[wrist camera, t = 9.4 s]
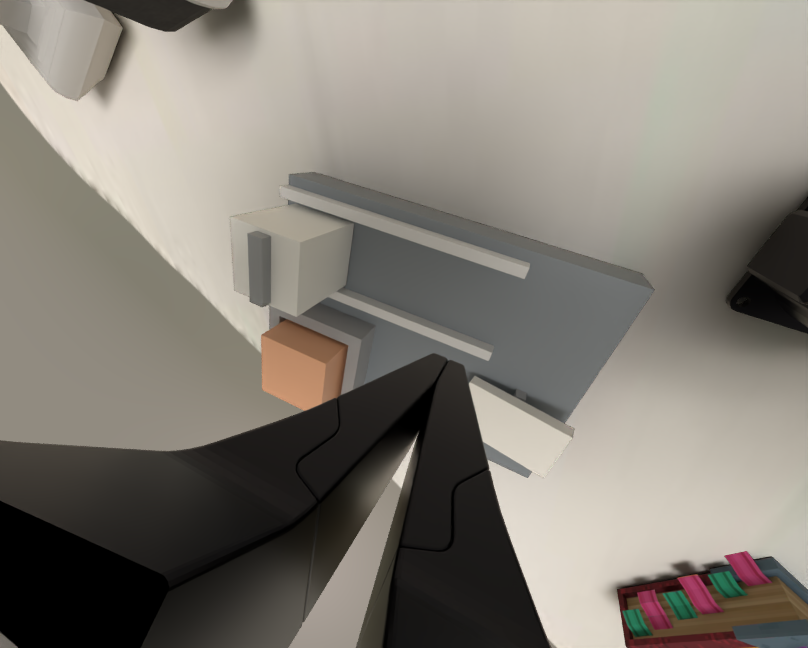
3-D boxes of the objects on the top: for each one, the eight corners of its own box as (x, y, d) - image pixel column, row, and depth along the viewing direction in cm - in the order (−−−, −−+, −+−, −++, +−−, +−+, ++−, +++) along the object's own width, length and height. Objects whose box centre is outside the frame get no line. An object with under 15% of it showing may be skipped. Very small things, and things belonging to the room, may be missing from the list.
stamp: (111, 117, 26) (-51, 103, 19) (48, 34, 25) (-150, -13, 18) (152, 14, 21) (-45, -54, 14) (76, -95, 20) (-179, -228, 13)
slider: (354, 223, 19) (291, 245, 15) (345, 285, 21) (288, 321, 17) (295, 203, 20) (219, 218, 15) (293, 264, 22) (225, 294, 17)
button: (358, 333, 23) (325, 364, 19) (350, 383, 25) (319, 418, 22) (301, 309, 24) (261, 334, 20) (298, 359, 26) (262, 389, 23)
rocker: (574, 428, 18) (572, 437, 18) (546, 468, 20) (543, 478, 19) (474, 375, 20) (469, 381, 20) (457, 416, 22) (452, 423, 22)
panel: (642, 273, 17) (667, 306, 14) (529, 450, 25) (525, 503, 21) (314, 172, 22) (264, 176, 18) (302, 349, 29) (266, 378, 25)
